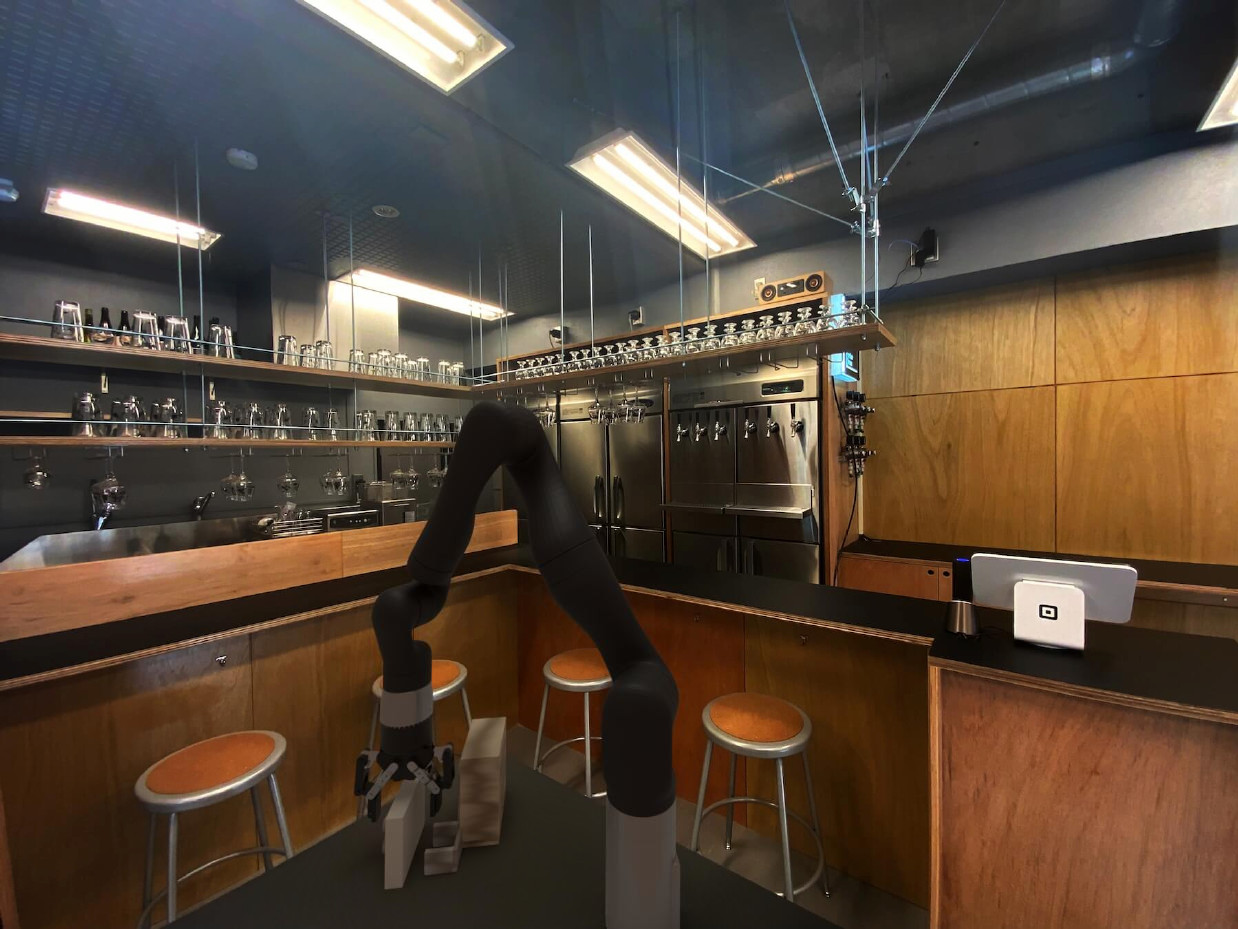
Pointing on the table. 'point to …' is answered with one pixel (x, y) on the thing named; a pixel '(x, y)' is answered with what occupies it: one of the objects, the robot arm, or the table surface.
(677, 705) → the robot arm
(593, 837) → the table surface
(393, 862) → the door
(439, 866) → the cabinet
